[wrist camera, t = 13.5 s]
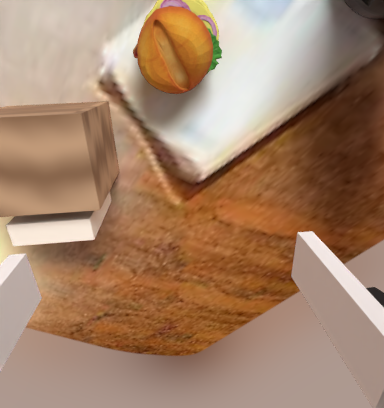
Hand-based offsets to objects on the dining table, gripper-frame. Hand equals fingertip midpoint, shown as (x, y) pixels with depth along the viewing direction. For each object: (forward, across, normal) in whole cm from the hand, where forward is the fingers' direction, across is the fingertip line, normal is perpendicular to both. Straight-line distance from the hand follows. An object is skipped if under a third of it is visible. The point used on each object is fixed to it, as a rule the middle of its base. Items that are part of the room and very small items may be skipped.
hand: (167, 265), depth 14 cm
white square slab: (+32, -15, -9) cm, 36 cm away
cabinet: (+32, -15, -3) cm, 35 cm away
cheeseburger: (+32, +2, +12) cm, 34 cm away
